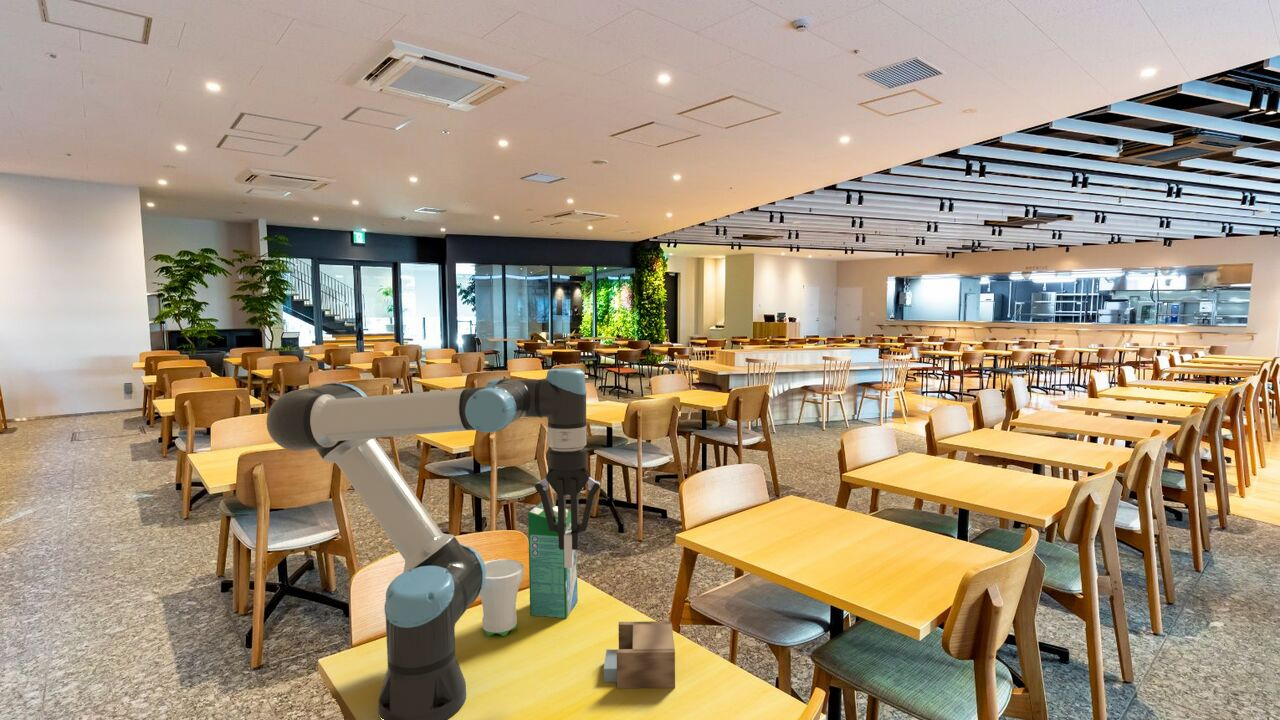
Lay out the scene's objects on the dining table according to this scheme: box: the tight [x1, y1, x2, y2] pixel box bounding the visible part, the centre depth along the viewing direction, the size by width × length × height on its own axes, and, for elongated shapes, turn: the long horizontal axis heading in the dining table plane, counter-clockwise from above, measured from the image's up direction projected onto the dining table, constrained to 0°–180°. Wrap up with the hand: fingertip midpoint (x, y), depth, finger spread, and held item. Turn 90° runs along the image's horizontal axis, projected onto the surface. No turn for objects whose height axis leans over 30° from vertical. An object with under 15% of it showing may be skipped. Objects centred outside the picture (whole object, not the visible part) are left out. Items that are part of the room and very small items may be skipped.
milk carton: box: [527, 501, 578, 619], centre depth 150 cm, size 9×9×25 cm
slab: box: [603, 648, 617, 683], centre depth 124 cm, size 11×7×3 cm, turn 89°
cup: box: [479, 558, 525, 637], centre depth 140 cm, size 11×11×14 cm
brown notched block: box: [616, 620, 676, 689], centre depth 124 cm, size 11×12×7 cm
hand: (569, 564), depth 124 cm, fingers closed
